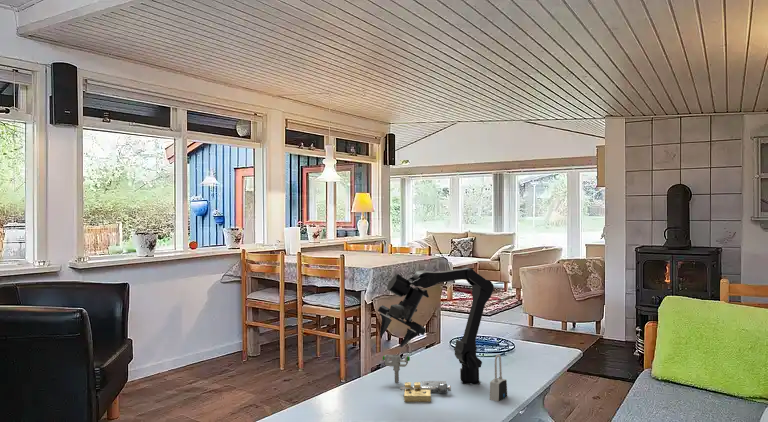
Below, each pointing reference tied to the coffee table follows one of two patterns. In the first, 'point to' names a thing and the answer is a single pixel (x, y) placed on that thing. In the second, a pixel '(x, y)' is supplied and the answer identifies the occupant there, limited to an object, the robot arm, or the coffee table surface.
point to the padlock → (498, 384)
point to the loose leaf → (416, 393)
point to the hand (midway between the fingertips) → (390, 341)
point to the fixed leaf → (432, 386)
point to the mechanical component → (395, 363)
